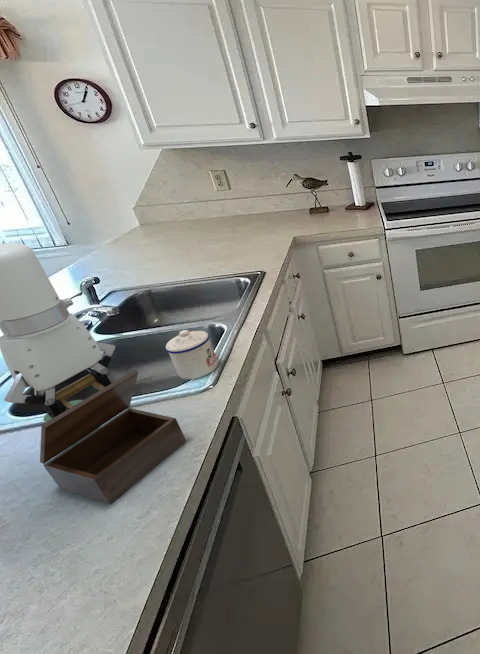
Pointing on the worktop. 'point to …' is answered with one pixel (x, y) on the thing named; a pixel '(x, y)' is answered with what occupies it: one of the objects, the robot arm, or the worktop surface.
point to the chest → (116, 455)
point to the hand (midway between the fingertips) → (84, 403)
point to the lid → (84, 413)
